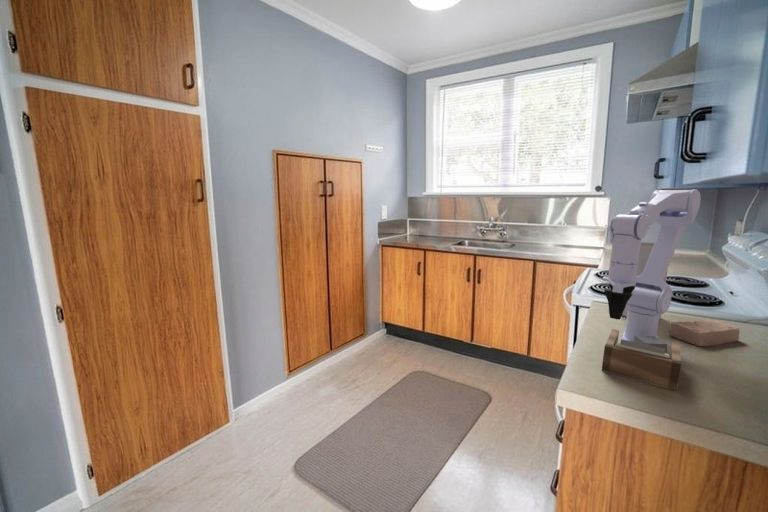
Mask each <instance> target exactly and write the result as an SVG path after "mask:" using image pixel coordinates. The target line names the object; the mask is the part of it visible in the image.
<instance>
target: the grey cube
mask: <svg viewBox="0 0 768 512" xmlns="http://www.w3.org/2000/svg"><path fill="white" fill-rule="evenodd" d="M633 342H637V343H641V344H646V345H650V346H655V347H659V348H664V349H665V354H668V353H667V352H668V346H669V344H668V343H667V342H665V341H663V340H661V339H660V338H659V337H658V338H656V337H654V336H634V341H633Z"/></svg>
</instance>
